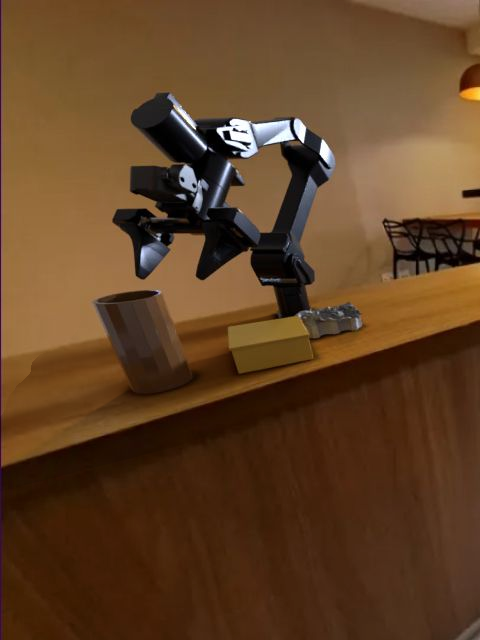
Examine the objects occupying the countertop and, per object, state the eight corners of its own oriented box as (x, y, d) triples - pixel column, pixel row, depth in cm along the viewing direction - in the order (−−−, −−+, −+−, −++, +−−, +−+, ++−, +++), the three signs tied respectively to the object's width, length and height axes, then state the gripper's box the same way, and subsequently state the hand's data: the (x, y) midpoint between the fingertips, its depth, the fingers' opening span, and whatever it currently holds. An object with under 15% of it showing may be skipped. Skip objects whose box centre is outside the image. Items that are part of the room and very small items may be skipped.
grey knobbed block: (303, 341, 74) (298, 318, 72) (295, 330, 80) (289, 308, 78) (366, 329, 79) (362, 307, 78) (354, 319, 85) (350, 298, 83)
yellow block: (235, 350, 71) (227, 326, 69) (304, 338, 76) (298, 315, 74) (237, 374, 62) (228, 348, 60) (315, 359, 67) (309, 334, 65)
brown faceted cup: (136, 379, 61) (99, 294, 56) (193, 368, 64) (164, 287, 59) (128, 398, 56) (86, 307, 51) (191, 385, 59) (158, 298, 54)
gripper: (96, 144, 59) (46, 241, 54) (221, 140, 57) (182, 241, 52) (165, 203, 69) (130, 289, 64) (274, 202, 67) (246, 291, 62)
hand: (169, 278), depth 60 cm, fingers open, 9 cm apart
